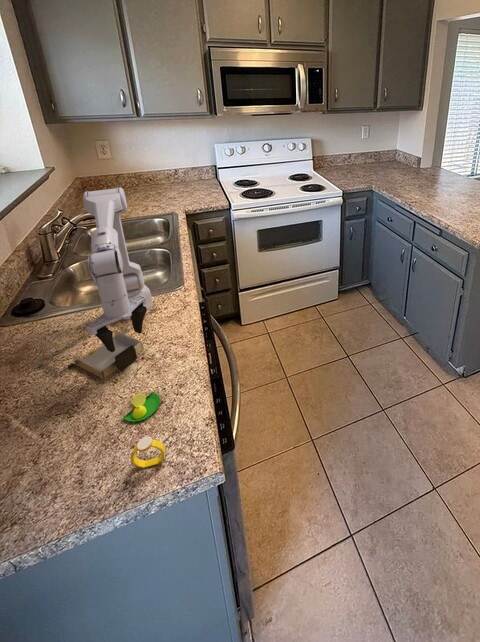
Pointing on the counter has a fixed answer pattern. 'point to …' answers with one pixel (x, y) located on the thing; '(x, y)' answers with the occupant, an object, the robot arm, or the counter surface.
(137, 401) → the green plate with lemons
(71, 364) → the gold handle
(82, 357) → the key
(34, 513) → the counter surface
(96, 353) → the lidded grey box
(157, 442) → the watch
